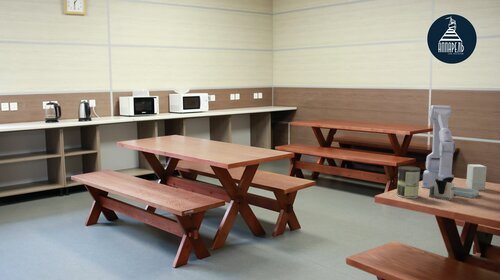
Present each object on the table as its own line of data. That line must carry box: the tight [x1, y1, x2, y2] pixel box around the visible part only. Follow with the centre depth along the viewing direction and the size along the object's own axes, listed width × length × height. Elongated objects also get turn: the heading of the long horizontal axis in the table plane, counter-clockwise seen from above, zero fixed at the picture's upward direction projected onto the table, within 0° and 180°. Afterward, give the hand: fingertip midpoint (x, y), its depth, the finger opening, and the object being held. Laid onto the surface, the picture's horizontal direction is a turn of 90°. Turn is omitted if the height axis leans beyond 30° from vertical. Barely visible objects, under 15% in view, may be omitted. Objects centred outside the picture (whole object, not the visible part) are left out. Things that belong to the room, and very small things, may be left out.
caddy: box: [434, 182, 457, 200], centre depth 244 cm, size 9×5×7 cm, turn 51°
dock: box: [428, 185, 457, 201], centre depth 244 cm, size 10×11×5 cm
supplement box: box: [465, 163, 488, 191], centre depth 263 cm, size 7×7×13 cm
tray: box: [454, 186, 480, 199], centre depth 250 cm, size 13×10×2 cm
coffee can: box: [396, 165, 421, 199], centre depth 244 cm, size 10×10×14 cm
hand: (443, 192), depth 244 cm, fingers open, 7 cm apart
